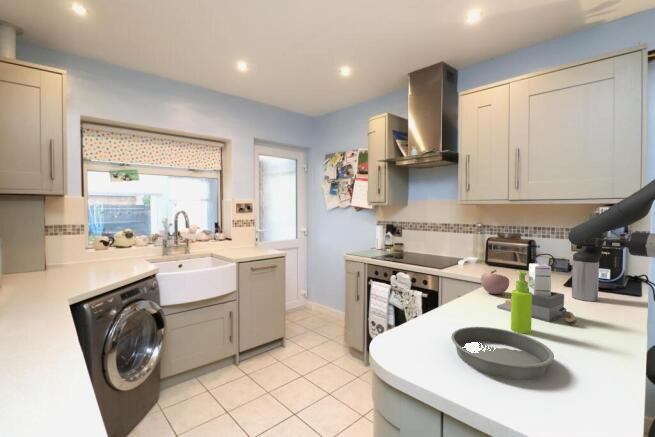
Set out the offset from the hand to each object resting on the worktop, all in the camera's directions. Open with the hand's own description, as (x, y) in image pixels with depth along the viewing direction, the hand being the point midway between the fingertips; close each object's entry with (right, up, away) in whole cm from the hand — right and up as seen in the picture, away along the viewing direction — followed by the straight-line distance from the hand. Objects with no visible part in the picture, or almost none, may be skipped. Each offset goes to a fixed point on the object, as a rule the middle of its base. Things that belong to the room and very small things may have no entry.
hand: (587, 240), depth 112 cm
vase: (-8, -30, 0) cm, 31 cm away
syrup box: (-11, -25, +9) cm, 29 cm away
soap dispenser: (-28, -30, -6) cm, 41 cm away
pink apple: (-13, -29, +38) cm, 49 cm away
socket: (-13, -29, +12) cm, 34 cm away
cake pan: (-46, -31, -25) cm, 61 cm away
